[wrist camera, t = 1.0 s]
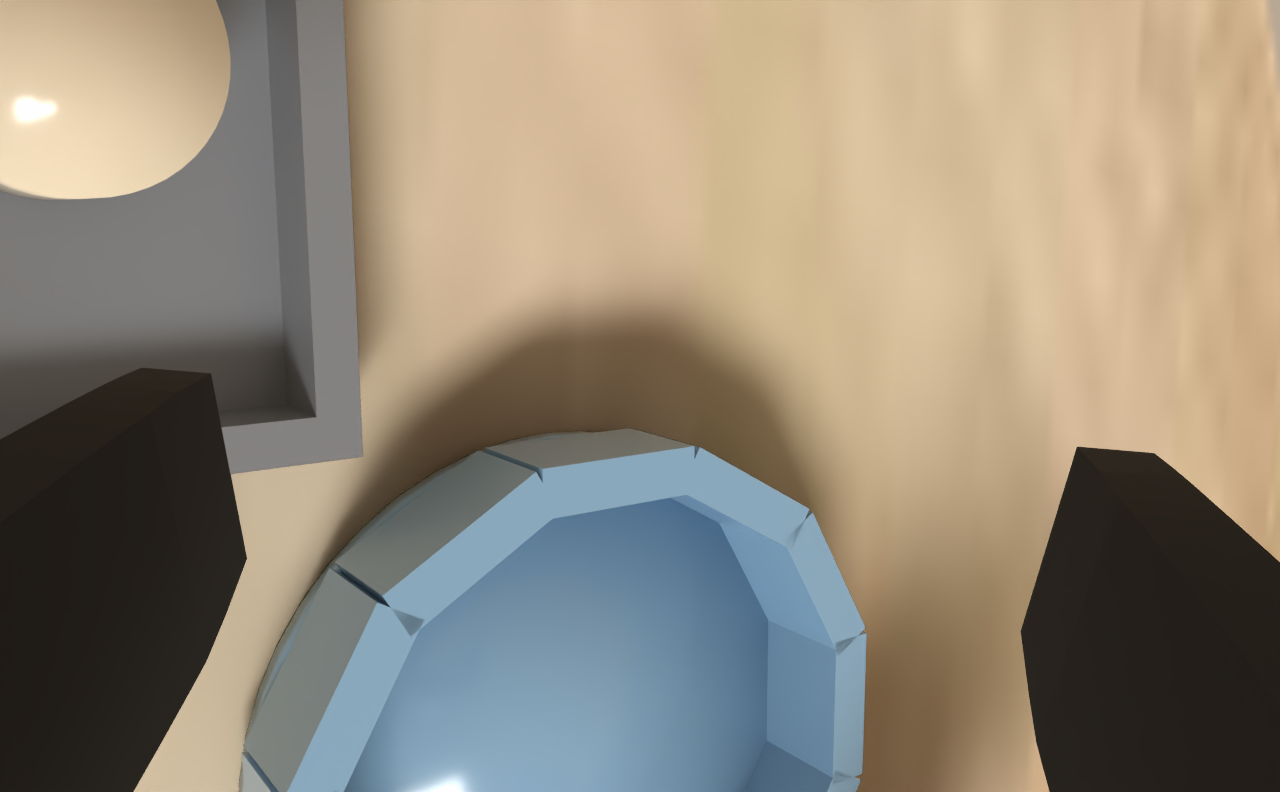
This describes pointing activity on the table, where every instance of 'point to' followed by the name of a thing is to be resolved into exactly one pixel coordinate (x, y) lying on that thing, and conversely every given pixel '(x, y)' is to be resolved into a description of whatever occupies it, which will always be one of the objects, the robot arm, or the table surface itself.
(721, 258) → the table surface
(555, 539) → the bowl
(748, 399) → the table surface
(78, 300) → the parts tray
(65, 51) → the beige rounded cylinder
